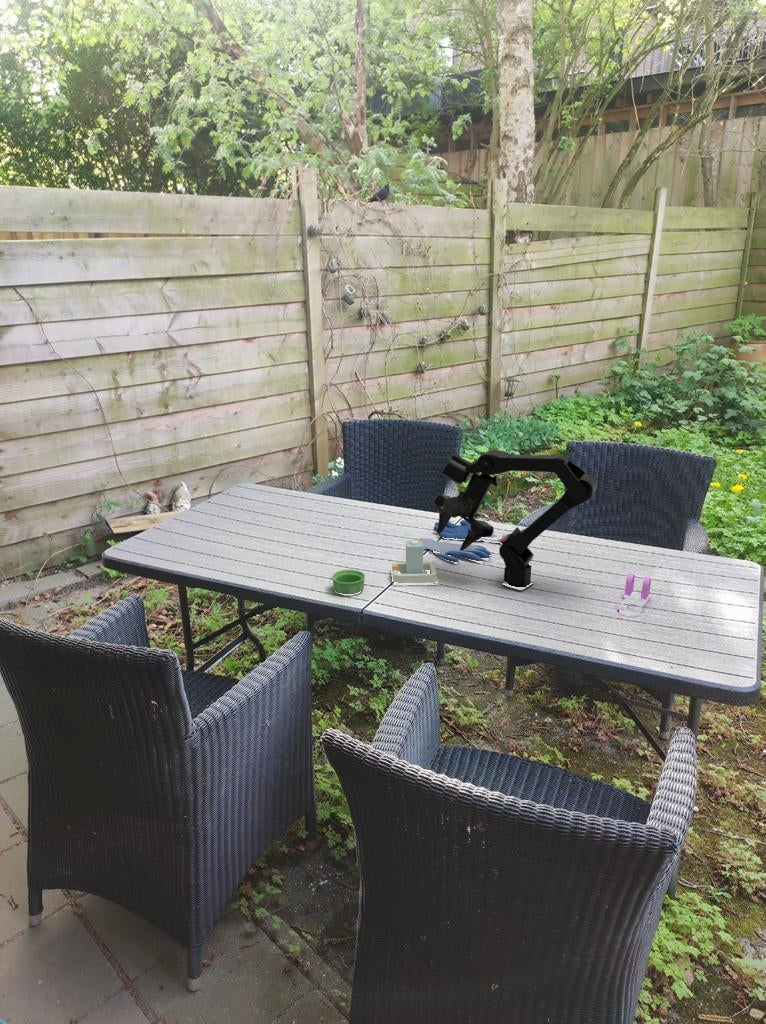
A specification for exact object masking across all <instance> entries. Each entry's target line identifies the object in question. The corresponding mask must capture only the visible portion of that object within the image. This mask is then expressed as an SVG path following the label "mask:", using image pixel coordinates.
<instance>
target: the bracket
mask: <svg viewBox="0 0 766 1024" xmlns="http://www.w3.org/2000/svg"><path fill="white" fill-rule="evenodd" d="M651 584H652V578H651V577H648V576H644V577H643V581H642V585H641V586H642V587H641V592H640V593H641V599H644V600H646V599H647V597H648V595H649V596H650V594H651V593H650V592H651ZM634 586H635V574H634V573H628V574H627V576H626V581H625V587H624V588H625V590H624V595H628V596H630V595H631V593H632V592H634ZM624 595H623V596H624ZM620 606H621V605H620ZM620 609H621V610H622V609H623V607H622V608H620ZM623 611H624V609H623Z"/></svg>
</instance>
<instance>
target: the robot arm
mask: <svg viewBox="0 0 766 1024" xmlns="http://www.w3.org/2000/svg"><path fill="white" fill-rule="evenodd" d="M507 472H537V473H538V472H540V473H542V472H543V473H545V472H546V473H555V475H556V476H557V478H558V479H559V480H560V481H561V483H562V484H563V486H564V487H566V491H565V492H564V493H563V494H562V495H561V497H560V498H558V500H557V501H555V502H554V503H553V504H552V505H551V506H550V507H547V509H546V510H545V511H544V512H543V513H542V514H540V515H539V516H538V517H537V518H536V519H535V520H533V521H532V522H531V523H530V524H529V525H528V526H527V527H525V528H523V529H521V530H520V528H519V527H518V526H516V528H515V529H514V530H513V531H512V532H511V533H507V534H508V535H507V534H506V535H507V536H506V538H505V539H504V540H503V541H502V542H501V543H502V545H500V547H499V549H498V550H499V556H500V558H501V559H502V560H503V562H504V566H505V567H504V569H503V570H504V571H503V572H504V573H503V582H507V583H508V584H509V585H511V586H515V587H526V586H527V585H529V584H530V582H532V581H531V579H532V577H531V576H532V565H531V564H529V563H531V561H532V559H533V557H534V553H533V552H532V551H531V549H530V548H529V546H530V545H531V544H532V542H533V541H535V540H536V539H537V538H538V537H539V536H540V535H541V534H543V533H544V532H545V531H546V530H548V528H550V527H551V526H552V525H553V524H554V523H556V521H558V520H559V519H560V518H561V517H562V516H564V515H565V514H566V513H567V512H568V511H570V510H572V509H574V508H576V507H579V506H580V505H582V504H584V503H585V502H587V501H588V500H590V499H591V498H592V496H593V495H594V493H595V492H596V490H597V489H598V481H597V479H596V478H595V476H593V474H589V473H587V472H585V470H584V469H582V467H580V466H578V465H577V464H575V463H574V462H573V461H571V460H570V458H568V457H567V456H566V455H564V454H557V455H551V454H550V455H548V454H546V455H545V454H544V455H539V454H512V453H510V452H507V451H504V450H499V449H494V448H493V449H489V450H487V451H486V452H484V453H483V454H481V455H480V456H479V457H478V458H477V459H475V460H474V461H472V462H470V461H468V460H466V459H465V458H463V457H461V456H460V455H459V454H457V453H454V454H453V455H452V456H451V458H450V459H449V460H448V462H447V464H446V465H445V466H444V468H443V470H442V476H444V477H446V478H448V479H449V480H451V481H453V482H454V483H456V484H458V485H462V484H463V483H465V484H467V485H466V487H465V490H461V491H460V492H459V493H458V495H457V496H450V495H446V494H438V495H437V496H435V498H434V499H433V503H434V504H436V505H435V508H436V509H437V511H438V514H439V515H438V531H437V532H436V534H437V535H438V534H440V533H441V532H442V531H443V530H444V528H445V527H446V525H447V523H448V522H450V520H451V518H452V519H453V518H457V517H460V518H461V519H462V520H466V521H467V522H468V523H470V524H471V526H470V527H471V529H468V535H467V536H466V538H465V540H463V542H462V543H461V544H462V546H461V548H460V550H461V551H463V550H464V549H466V548H467V547H468V546H470V545H473V543H475V542H477V541H476V540H478V539H479V538H481V537H491V536H492V534H493V533H494V526H492V524H490V523H488V522H487V521H485V520H480V519H476V518H478V516H479V515H480V514H479V513H478V512H479V509H480V507H481V505H485V504H486V500H485V498H486V496H487V494H488V492H489V490H490V488H491V486H492V485H493V486H494V487H499V486H500V485H501V483H500V480H499V476H498V474H503V473H504V474H505V473H507ZM493 475H494V476H493Z"/></svg>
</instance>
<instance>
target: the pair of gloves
mask: <svg viewBox="0 0 766 1024" xmlns="http://www.w3.org/2000/svg"><path fill="white" fill-rule="evenodd" d="M438 523H439V521H436V522H435V523H434V526H433V530H434V531H435V532H436V533H437V531H438ZM459 524H460V525H459ZM459 524H455V523H452V522H451V521H449V522H448V523H447V525H446V527H445V528H444V530H443V531H442V532H441V533H440V534H438V533H437V536H438V537H440V538H441V537H444V538H454V539H456V538H457V539H465V538H466V536H467V535H468V529H471V527H470V526H471V524H470V523H468V522H467V521H466V520H464V519H462V520H460V521H459ZM495 534H496V533H494V534H492V536H491V538H493V537H497V535H495ZM501 534H502V535H503V536H502V538H501V539H498V540H495V541H498V542H499V541H500V542H502V541H503V540H504V539H505V538H506V536H507V535H508V534H509V533H507V534H503V533H501ZM488 538H489V537H488ZM479 539H480V538H479ZM479 539H478V540H479ZM418 540H419V541H422V543H423V548H425V549H430V550H429V551H431V550H434V551H437V552H440V553H435V554H437V555H438V556H440V557H442V558H444V559H446V560H449V561H453V562H458V563H459V559H458V558H460V557H463V558H467V559H471V560H476V561H482V559H481V558H490V556H489V555H491V554H492V553H491V551H490V550H488V549H487V548H486V547H485V546H481V545H479V544H471V545H470V546H468V547H467V548H466V549H464V550H463V551H461V550H460V548H461V546H462V544H463V543H461V544H460V543H459V544H458V543H452V542H449V541H438V540H434V539H433V538H426V537H425V538H422V537H421V538H419V539H418ZM435 554H434V555H435ZM448 555H451V556H448ZM453 555H454V556H453ZM438 556H437V557H438ZM456 556H458V557H457V558H456ZM491 556H492V555H491ZM440 557H439V558H440ZM463 558H462V559H463ZM467 559H466V560H467Z"/></svg>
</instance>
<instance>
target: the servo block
mask: <svg viewBox="0 0 766 1024" xmlns="http://www.w3.org/2000/svg"><path fill="white" fill-rule="evenodd" d="M419 540H420V539H411V540H405V562H406V571H400V573H401V574H427V571H423V562H424V550H423V543H422V541H419Z"/></svg>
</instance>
